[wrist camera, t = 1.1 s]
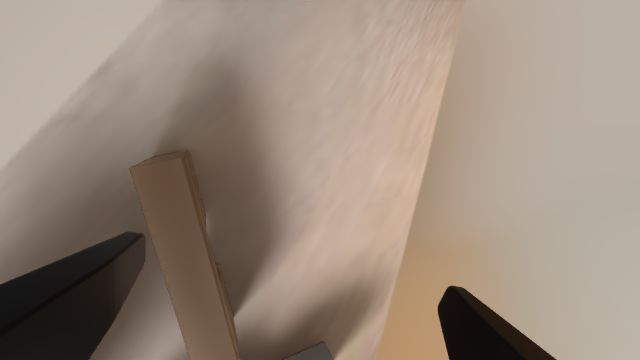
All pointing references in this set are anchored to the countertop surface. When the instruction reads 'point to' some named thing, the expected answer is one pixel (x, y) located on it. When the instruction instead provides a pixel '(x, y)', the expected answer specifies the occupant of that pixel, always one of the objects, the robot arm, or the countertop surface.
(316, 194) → the countertop surface
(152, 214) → the cross plate
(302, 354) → the base plate
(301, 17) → the countertop surface
